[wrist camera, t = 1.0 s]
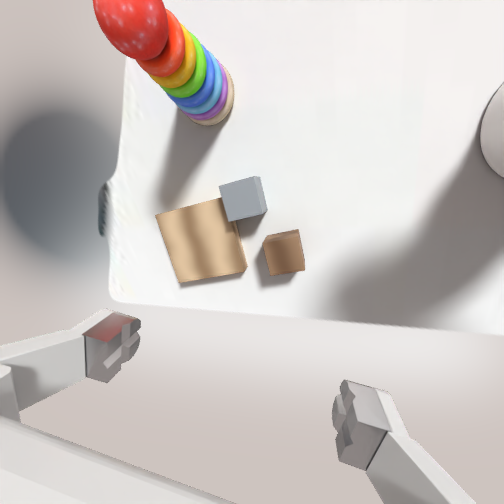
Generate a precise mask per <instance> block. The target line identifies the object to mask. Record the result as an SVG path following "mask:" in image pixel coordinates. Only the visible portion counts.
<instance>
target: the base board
mask: <svg viewBox="0 0 504 504" xmlns="http://www.w3.org/2000/svg"><path fill="white" fill-rule="evenodd" d="M155 216H156V219H157V222H158V225H159V228H160V230H161V233H162V236H163V239H164V242H165V245H166V247H167V250H168V253H169V256H170V259H171V262H172V265H173V267H174V270H175V273H176V276H177V279H178V282H179V283H181V282H187V281H193V280H199V279H205V278H211V277H216V276H222V275H228V274H234V273H240V272H244V271H245V270H246V268H247V267H248V266H247V262H246V258H245V255H244V251H243V247H242V244H241V240H240V236H239V232H238V229H237V225H236V221H235V220H234V221H230V222H228V218H227V214H226V211H225V207H224V203H223V200H222V197H221V198H218V199H214V200H210V201H206V202H203V203H199V204H195V205H191V206H187V207H184V208H180V209H176V210H172V211H169V212H165V213H161V214H157V215H155Z"/></svg>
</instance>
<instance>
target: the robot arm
mask: <svg viewBox="0 0 504 504" xmlns="http://www.w3.org/2000/svg"><path fill="white" fill-rule="evenodd" d="M480 140H481V148H482V152H483V155H484V157H485V159H486V161H487V163H488V164H489V166H490V167H491V168H492V169H493V170H494V171H495V172H496V173H497V174H499V175H500V176H502V177H503V178H504V83H503V84H502V86H501V87H500V88H499V89H498V91H497V92H496V94H495V95H494V97H493V98H492V100H491V102H490V104H489V106H488V108H487V110H486V112H485V115H484V118H483V122H482V126H481V134H480ZM140 325H141V321H140V320H139V319H138V318H135V317H132V316H129V315H125V314H122V313H119V312H115V311H113V310H109V309H101V310H100V311H98V312H97V313H95V314H93V315H92V316H90V317H89V318H87V319H86V320H84V321H82V322H81V323H79V324H78V325H76V326H75V327H73V328H72V329H70V330H68V331H66V330H61V331H58V332H53V333H49V334H46V335H41V336H38V337H33V338H29V339H25V340H22V341H18V342H13V343H10V344H5V345H1V346H0V504H236V503H233V502H231V501H228V500H225V499H223V498H220V497H217V496H214V495H212V494H209V493H206V492H204V491H201V490H198V489H196V488H193V487H190V486H188V485H185V484H182V483H180V482H177V481H174V480H172V479H169V478H166V477H164V476H161V475H158V474H156V473H153V472H150V471H148V470H145V469H142V468H140V467H137V466H134V465H132V464H129V463H126V462H123V461H121V460H118V459H116V458H113V457H110V456H108V455H105V454H102V453H100V452H97V451H94V450H92V449H88V448H86V447H83V446H81V445H78V444H76V443H73V442H70V441H68V440H64V439H62V438H60V437H57V436H54V435H52V434H49V433H46V432H44V431H41V430H38V429H35V428H33V427H30V426H28V425H25V424H22V423H21V421H20V416H19V411H21V410H23V409H25V408H27V407H29V406H31V405H33V404H35V403H37V402H39V401H41V400H43V399H45V398H47V397H49V396H51V395H53V394H55V393H57V392H59V391H61V390H63V389H65V388H67V387H69V386H71V385H73V384H75V383H77V382H79V381H81V380H83V379H85V378H86V377H88V378H91V379H95V380H98V381H101V382H105V383H108V382H109V381H110V380H111V379H112V378H113V377H114V376H115V374H117V373H118V371H120V369H121V364H122V363H124V362H126V361H129V360H130V359H131V358H132V356H134V354H135V352H136V351H137V349H138V346H139V342H140V336H139V334H138V332H137V331H138V330H139V329H140V327H141V326H140ZM340 391H341V394H340V395H338V396H336V398H335V401H334V404H333V410H332V420H333V426H334V427H335V429H336V430H337V432H338V434H337V437H336V439H335V440H336V446H337V452H338V458H339V461H340V462H343V463H345V464H348V465H351V466H354V467H356V468H359V469H362V470H365V471H366V474H367V476H368V477H369V479H370V481H371V482H372V484H373V486H374V487H375V489H376V491H377V493H378V494H379V496H380V498H381V499H382V501H383V503H384V504H476V503H475V502H474V501H473V500H472V498H470V496H469V495H468V494H467V493H466V492H465V491H464V490H463V489H462V488H461V487H460V486H459V485H458V484H457V483H456V482H455V481H454V480H453V479H452V478H451V477H450V476H449V474H448V473H447V472H446V471H444V469H443V468H442V467H441V466H440V465H439V464H438V463H437V462H436V461H435V460H434V459H433V458H432V457H431V456H430V455H429V454H428V453H427V452H426V450H425V449H424V448H423V447H422V446H421V445H420V444H419V443H418V442H417V441H416V440H413V439H411V438H410V436H409V434H408V432H407V429H406V427H405V425H404V423H403V421H402V419H401V416H400V414H399V412H398V410H397V408H396V405H395V403H394V401H393V399H392V397H391V395H390V393H388V392H387V391H384V390H380V389H377V388H372V387H369V386H365V385H362V384H358V383H355V382H351V381H348V380H344V381H343V382H342V383H341V386H340Z"/></svg>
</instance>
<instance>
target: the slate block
mask: <svg viewBox="0 0 504 504" xmlns="http://www.w3.org/2000/svg"><path fill="white" fill-rule="evenodd" d="M219 189H220V193H221V196H222V200H223V203H224V207H225V211H226V214H227V218H228V222H230V221H234V220H239V219H243V218H247V217H252V216H256V215H260V214H263V213H264V212H265V211H267V205H266V201H265V197H264V192H263V188H262V184H261V179H260V177H255V176H253V177H250V178H246V179H243V180H239V181H235V182H232V183H228V184H225V185H221V186H219Z"/></svg>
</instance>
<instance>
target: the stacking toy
mask: <svg viewBox="0 0 504 504" xmlns="http://www.w3.org/2000/svg"><path fill="white" fill-rule="evenodd" d="M93 6H94V11H95V15H96V18H97V21H98V23H99V25H100V27H101V29H102V31H103V33H104V34H105V36H106V37H107V38H108V40H109V41H110V42H111V43H112V45H113V46H115V47H116V49H118V50H119V51H120V52H122V53H123V54H125V55H126V56H128V57H130V58H133V59H135V60H136V61H137V63H138V64H139V65H140V67H141V68H142V69H143V70H145V71H146V72H147V73H148V74H149V76H150V77H151V78H152V79H153V80H154V81H155V82H156V83H158V84H159V85H160V86H161V88H162V89H163V90H164V91H165V92H166V93H167V95H168V96H169V97H170V98H171V99H172V100H173V101H174V102H175V103H176V105H177V106H178V107H179V108H180V109H181V111H182V112H183V113H184V114H186V115H187V116H188V117H189V118H190V119H191V120H192V121H194V122H195V123H197V124H200V125H205V126H209V125H214V124H217V123H219V122H220V121H222V120H223V119H224V118H225V117H226V116H227V115H228V113H229V111H230V110H231V107H232V105H233V101H234V85H233V81H232V78H231V76H230V74H229V72H228V71H227V69H226V68H225V67H224V66H223V65H222V64H220V63H219V61H218V60H217V59H216V58H215V57H214V56H213V55H212V54H211V53H210V52H209V51H208V50H206V48H205V47H204V46H203V45H202V44H200V42H199V41H198V40H197V38H196V37H195V36H194V35H193V34H192V33H190V32H189V31H188V30H187V29H186V28H185V27H184V26H183V25H182V24H181V23H179V21H178V20H177V18H176V17H175V16H174V15H173V14H172V13H171V12H170V11H169V10H167V9H166V8H165V7H164V4H163V2H162V0H93Z"/></svg>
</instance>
